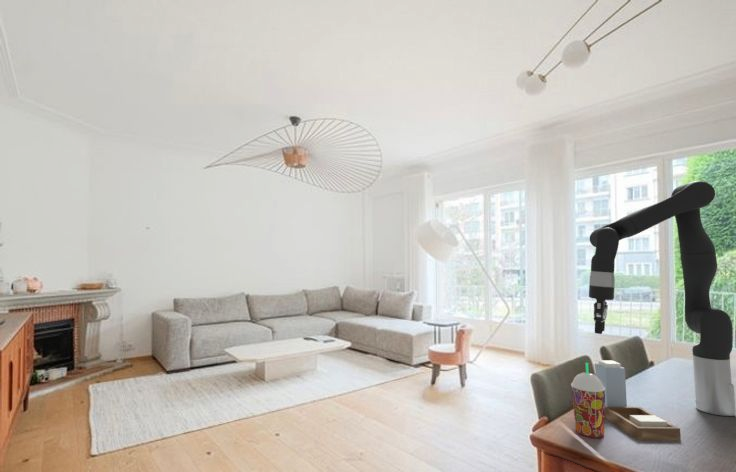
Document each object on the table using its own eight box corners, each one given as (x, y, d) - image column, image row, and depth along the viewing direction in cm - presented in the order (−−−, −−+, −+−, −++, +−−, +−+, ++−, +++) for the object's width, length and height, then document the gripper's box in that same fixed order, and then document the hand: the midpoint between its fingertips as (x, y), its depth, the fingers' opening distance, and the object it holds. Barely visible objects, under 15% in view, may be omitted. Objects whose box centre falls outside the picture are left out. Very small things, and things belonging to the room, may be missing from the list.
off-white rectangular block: (630, 429, 110) (629, 415, 111) (655, 429, 110) (654, 415, 110) (641, 436, 106) (640, 421, 106) (667, 436, 106) (666, 421, 106)
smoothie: (566, 431, 112) (563, 359, 113) (594, 430, 113) (591, 359, 114) (585, 444, 104) (582, 367, 105) (615, 443, 104) (611, 366, 106)
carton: (597, 410, 128) (594, 359, 129) (615, 410, 128) (613, 359, 129) (607, 417, 122) (605, 364, 123) (627, 417, 122) (624, 364, 123)
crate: (603, 420, 120) (603, 406, 120) (640, 420, 120) (639, 406, 120) (638, 443, 104) (638, 428, 104) (681, 444, 104) (680, 428, 104)
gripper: (613, 286, 128) (610, 336, 127) (615, 286, 140) (613, 331, 139) (586, 284, 133) (584, 332, 132) (591, 283, 144) (589, 328, 143)
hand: (599, 332), depth 135 cm, fingers open, 8 cm apart
